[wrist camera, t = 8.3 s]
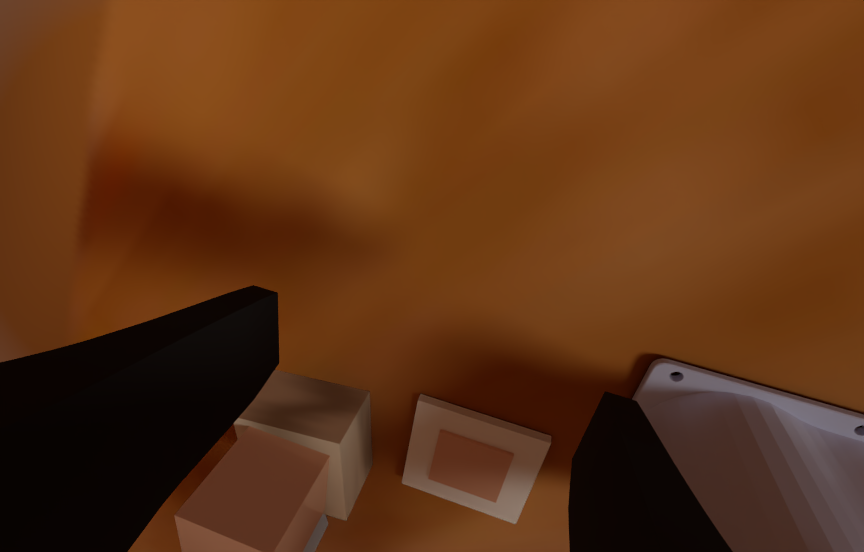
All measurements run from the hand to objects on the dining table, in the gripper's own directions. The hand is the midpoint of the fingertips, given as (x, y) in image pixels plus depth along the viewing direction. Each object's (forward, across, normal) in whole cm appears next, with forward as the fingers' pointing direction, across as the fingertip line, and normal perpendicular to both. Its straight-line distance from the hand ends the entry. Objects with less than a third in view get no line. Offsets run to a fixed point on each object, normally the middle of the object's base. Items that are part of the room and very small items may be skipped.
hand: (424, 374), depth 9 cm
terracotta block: (+6, +7, +15) cm, 18 cm away
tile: (+10, -2, +14) cm, 17 cm away
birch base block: (+10, +7, +15) cm, 19 cm away
